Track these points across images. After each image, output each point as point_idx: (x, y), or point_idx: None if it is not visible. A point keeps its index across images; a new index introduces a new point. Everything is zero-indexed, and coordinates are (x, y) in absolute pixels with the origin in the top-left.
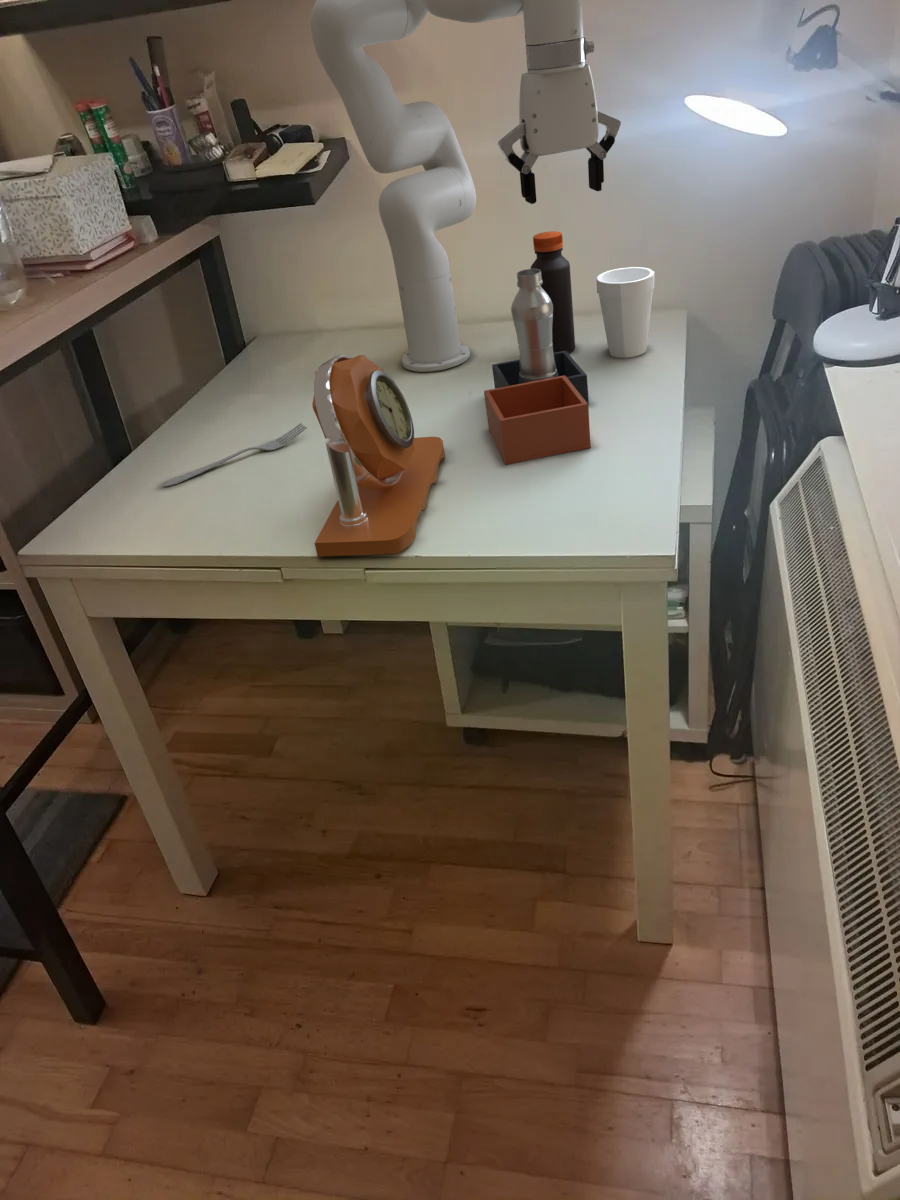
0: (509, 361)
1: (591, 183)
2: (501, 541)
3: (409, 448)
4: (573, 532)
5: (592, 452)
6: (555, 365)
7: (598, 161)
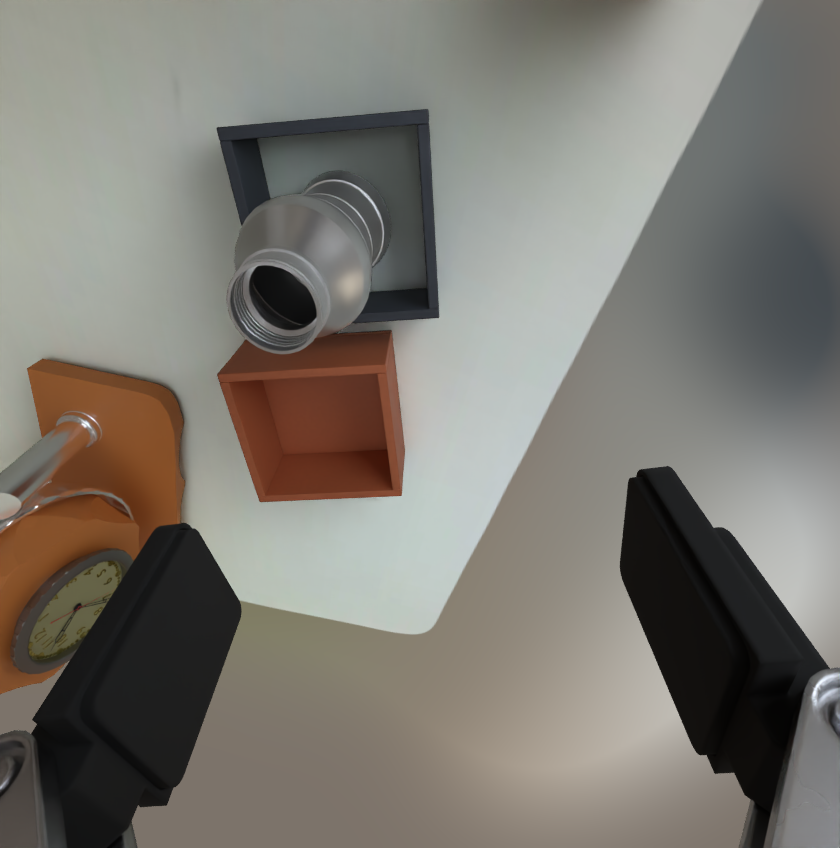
0: (265, 127)
1: (639, 535)
2: (280, 594)
3: (130, 542)
4: (351, 599)
5: (404, 462)
6: (380, 245)
7: (722, 769)
